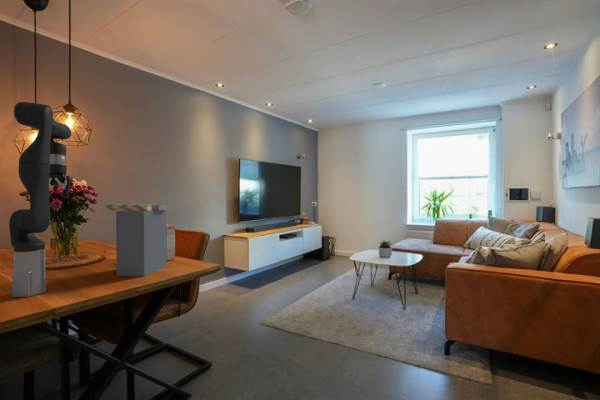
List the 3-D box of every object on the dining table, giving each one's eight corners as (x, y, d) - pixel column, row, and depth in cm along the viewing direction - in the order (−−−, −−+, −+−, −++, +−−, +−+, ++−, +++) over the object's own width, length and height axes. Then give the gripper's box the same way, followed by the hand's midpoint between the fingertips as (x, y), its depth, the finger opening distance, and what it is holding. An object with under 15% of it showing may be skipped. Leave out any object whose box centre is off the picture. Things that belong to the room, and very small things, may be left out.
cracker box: (175, 259, 180) (175, 224, 179) (166, 261, 175) (166, 225, 174) (161, 256, 187) (161, 223, 187) (152, 258, 182) (152, 224, 182)
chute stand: (169, 266, 163) (168, 205, 162) (147, 276, 143) (147, 206, 142) (141, 265, 164) (141, 204, 164) (116, 275, 145) (116, 206, 144)
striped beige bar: (151, 210, 150) (151, 204, 150) (146, 210, 146) (146, 204, 146) (110, 209, 151) (110, 203, 151) (104, 210, 147) (104, 204, 147)
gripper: (35, 163, 142) (34, 197, 141) (65, 162, 142) (64, 196, 141) (48, 166, 150) (48, 199, 149) (77, 165, 150) (76, 197, 149)
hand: (56, 197), depth 145 cm, fingers open, 8 cm apart
